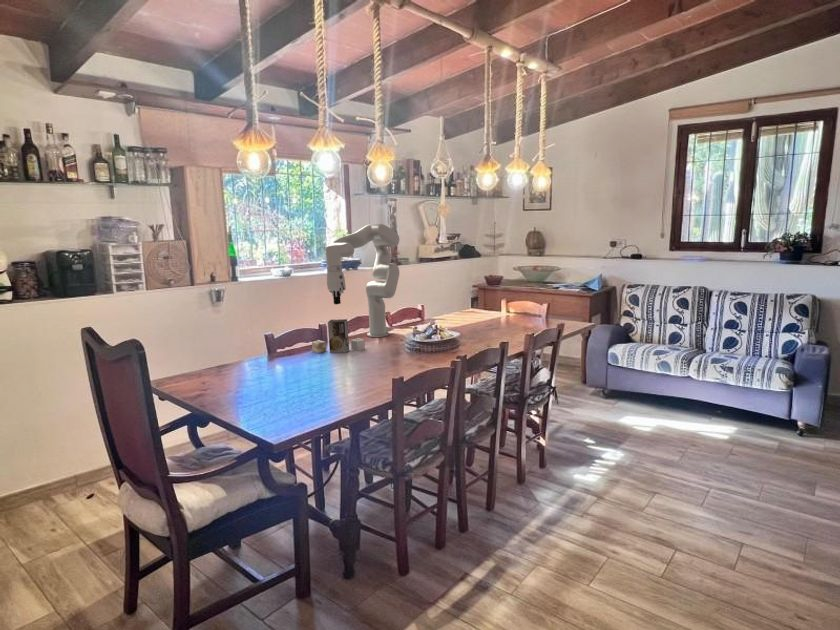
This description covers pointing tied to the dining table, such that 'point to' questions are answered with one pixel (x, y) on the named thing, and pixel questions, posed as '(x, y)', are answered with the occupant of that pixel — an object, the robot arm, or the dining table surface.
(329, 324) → the coffee box
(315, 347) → the birch block marked
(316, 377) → the dining table surface
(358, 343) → the grey block marked
